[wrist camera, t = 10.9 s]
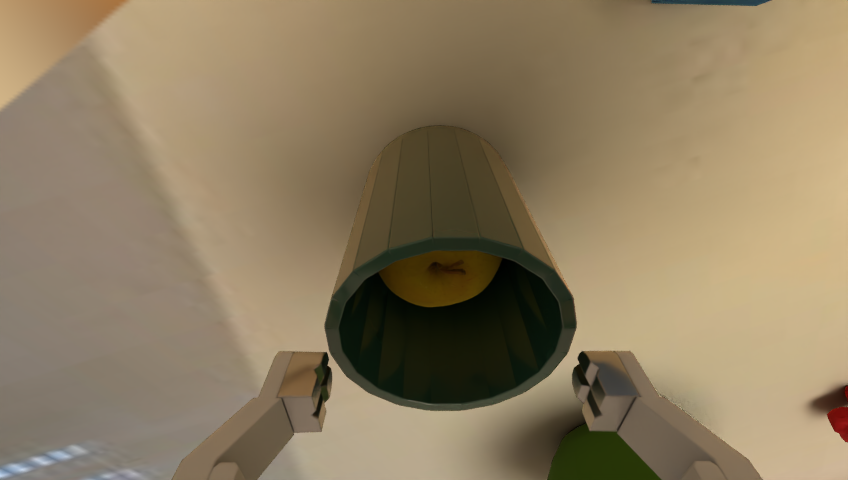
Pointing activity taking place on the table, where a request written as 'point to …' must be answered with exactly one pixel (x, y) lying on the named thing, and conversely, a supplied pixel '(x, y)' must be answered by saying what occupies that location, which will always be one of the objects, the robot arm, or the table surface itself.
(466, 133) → the green cup
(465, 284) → the apple
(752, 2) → the perfume bottle
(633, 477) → the vase
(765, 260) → the table surface
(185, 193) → the table surface
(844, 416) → the figurine
